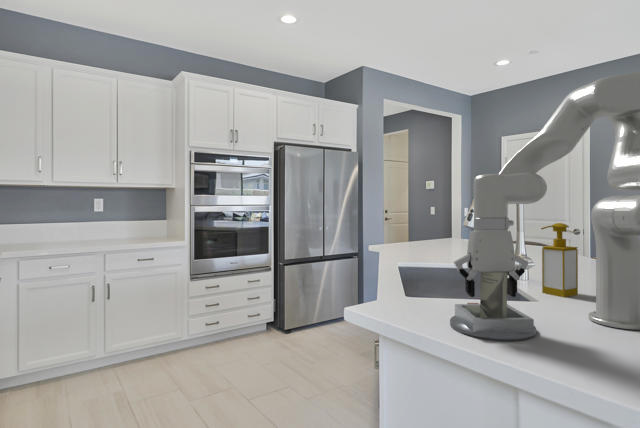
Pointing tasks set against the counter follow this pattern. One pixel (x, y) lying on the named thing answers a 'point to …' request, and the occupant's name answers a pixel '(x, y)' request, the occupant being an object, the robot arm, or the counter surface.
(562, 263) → the soap bottle
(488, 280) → the box
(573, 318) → the counter surface
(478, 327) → the disc with square frame
